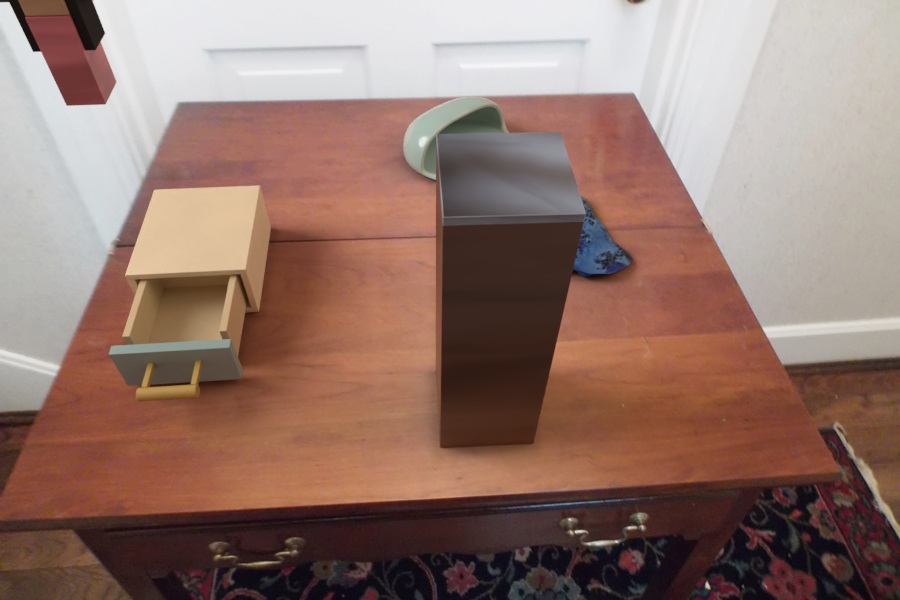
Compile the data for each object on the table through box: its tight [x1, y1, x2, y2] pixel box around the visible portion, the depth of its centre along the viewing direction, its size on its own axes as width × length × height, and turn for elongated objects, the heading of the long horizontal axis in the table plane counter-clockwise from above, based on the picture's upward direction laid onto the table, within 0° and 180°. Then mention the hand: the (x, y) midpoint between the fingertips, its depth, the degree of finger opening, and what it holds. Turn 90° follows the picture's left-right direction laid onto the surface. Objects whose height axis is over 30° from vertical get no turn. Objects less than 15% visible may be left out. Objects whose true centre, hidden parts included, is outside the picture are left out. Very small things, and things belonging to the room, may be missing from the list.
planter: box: [402, 95, 510, 181], centre depth 101 cm, size 19×7×16 cm
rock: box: [573, 195, 633, 278], centre depth 89 cm, size 15×17×2 cm
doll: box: [18, 0, 117, 107], centre depth 47 cm, size 4×3×13 cm
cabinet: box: [124, 184, 272, 314], centre depth 82 cm, size 16×14×8 cm
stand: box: [435, 131, 586, 449], centre depth 60 cm, size 10×10×32 cm
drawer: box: [108, 274, 248, 402], centre depth 73 cm, size 19×12×6 cm, turn 5°
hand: (69, 41), depth 49 cm, fingers closed on doll, 3 cm apart
